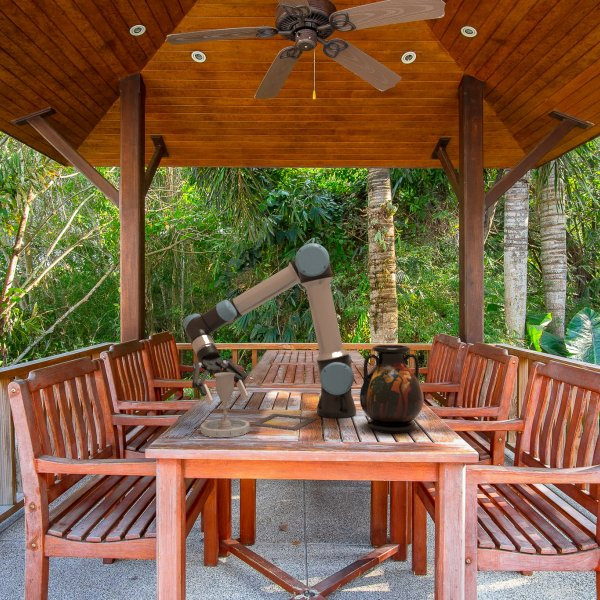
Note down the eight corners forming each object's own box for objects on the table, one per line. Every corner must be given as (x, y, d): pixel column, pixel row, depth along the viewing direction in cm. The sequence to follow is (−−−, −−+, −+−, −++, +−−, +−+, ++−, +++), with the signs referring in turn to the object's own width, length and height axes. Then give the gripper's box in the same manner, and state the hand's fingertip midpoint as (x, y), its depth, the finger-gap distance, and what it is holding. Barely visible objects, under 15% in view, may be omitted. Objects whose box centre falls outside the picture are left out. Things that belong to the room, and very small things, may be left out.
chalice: (225, 432, 167) (225, 377, 166) (210, 428, 171) (209, 375, 170) (240, 426, 174) (239, 373, 173) (224, 423, 177) (224, 371, 176)
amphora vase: (366, 437, 165) (366, 350, 164) (354, 421, 186) (354, 343, 186) (432, 435, 166) (432, 349, 166) (413, 419, 188) (413, 343, 187)
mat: (317, 419, 189) (317, 418, 189) (296, 430, 173) (295, 429, 173) (274, 414, 197) (274, 413, 197) (250, 425, 181) (250, 423, 181)
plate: (258, 428, 176) (258, 421, 176) (232, 440, 161) (232, 432, 161) (219, 423, 183) (219, 417, 183) (191, 434, 168) (191, 427, 168)
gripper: (232, 355, 192) (255, 401, 180) (170, 360, 176) (190, 412, 164) (240, 342, 188) (264, 388, 176) (176, 346, 172) (198, 398, 160)
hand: (228, 400), depth 170 cm, fingers open, 13 cm apart
